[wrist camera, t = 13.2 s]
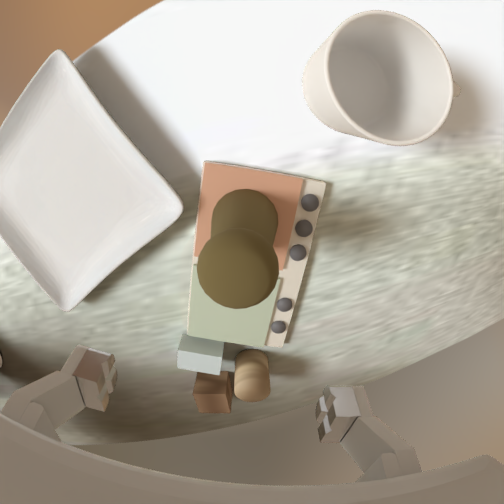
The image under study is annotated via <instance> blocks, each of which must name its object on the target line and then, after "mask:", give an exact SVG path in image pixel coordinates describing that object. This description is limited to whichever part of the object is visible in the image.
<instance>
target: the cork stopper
mask: <svg viewBox="0 0 504 504" xmlns="http://www.w3.org/2000/svg"><path fill="white" fill-rule="evenodd" d="M234 393H235V395H236V396H237V397H238V398H239V399H241V400H243V401H247V402H257V401H261V400H263V399H265V398H267V397H268V396H269V394H270V379H269V366H268V357H267V356H266V354H265V353H263V352H262V351H260V350H256V349H248V350H244V351H242V352H240V353H239V354H238V355H237V356H236V359H235V382H234Z"/></svg>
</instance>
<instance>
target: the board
mask: <svg viewBox="0 0 504 504" xmlns="http://www.w3.org/2000/svg"><path fill="white" fill-rule="evenodd" d="M325 187H326V183H325V182H324V181H319V180H314V179H309V178H304V177H299V176H294V175H289V174H284V173H278V172H273V171H267V170H261V169H256V168H250V167H243V166H237V165H231V164H224V163H217V162H210V161H204V162H203V169H202V177H201V184H200V193H199V201H198V209H197V218H196V228H195V237H194V247H193V258H192V269H191V281H190V293H189V307H188V322H187V333H188V336H193V337H199V338H205V339H210V340H216V341H223V342H229V343H235V344H242V345H249V346H256V347H264V345H266V346H274V347H283V344H284V340H285V337H286V334H287V330H288V327H289V324H290V320H291V317H292V313H293V310H294V306H295V303H296V299H297V296H298V292H299V289H300V285H301V282H302V278H303V274H304V271H305V267H306V263H307V259H308V256H309V252H310V248H311V244H312V240H313V236H314V232H315V228H316V224H317V220H318V216H319V212H320V208H321V204H322V200H323V196H324V191H325ZM238 189H250V190H255V191H258V192H260V193H262V194H263V195H265V196H267V197H268V199H269V200H270V201H271V202H272V203H273V204H274V206H275V209H276V211H277V213H278V227H277V231H276V235H275V240H274V244H273V248H274V250H275V253H276V255H277V257H278V262H279V276H278V280H277V283H276V286H275V288H274V290H273V291H272V292H271V294H270V295H269V296H268V298H266V299H265V300H263V301H262V302H261V303H259V304H257V305H255V306H252V307H249V308H244V309H233V308H228V307H224V306H222V305H220V304H218V303H216V302H214V301H213V300H212V299H211V298H210V297H209V296H208V295H207V294H206V293H205V292H204V290H203V289H202V287H201V285H200V284H199V279H198V274H197V262H198V256H199V254H200V252H201V250H202V249H203V247H204V245H205V243H206V242H207V241H208V240H210V239H211V219H212V214H213V209H214V207H215V206H216V204H217V202H218V201H219V200H220V199H221V198H222V197H223V196H224V195H225V194H227V193H229V192H232V191H234V190H238Z"/></svg>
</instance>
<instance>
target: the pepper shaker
mask: <svg viewBox="0 0 504 504" xmlns="http://www.w3.org/2000/svg"><path fill="white" fill-rule="evenodd" d="M277 227H278V213H277V211H276V209H275V206H274V204H273V203H272V202H271V201H270V200H269V199H268V197H267V196H265V195H263V194H262V193H260V192H258V191H255V190H250V189H238V190H234V191H232V192H229V193H227V194H225V195H224V196H223V197H222V198H221V199H220V200H219V201H218V202H217V204H216V206H215V207H214V209H213V214H212V219H211V239H210V240H208V241H207V242H206V243H205V245H204V247H203V249H202V250H201V252H200V254H199V256H198V262H197V274H198V279H199V284H200V285H201V287H202V289H203V290H204V292H205V293H206V294H207V295H208V296H209V297H210V298H211V299H212V300H213V301H214V302H216V303H218V304H220V305H222V306H224V307H228V308H233V309H244V308H249V307H252V306H255V305H257V304H259V303H261V302H262V301H263V300H265V299H266V298H268V296H269V295H270V294H271V292H272V291H273V290H274V288H275V286H276V283H277V280H278V276H279V262H278V257H277V255H276V253H275V250H274V248H273V244H274V240H275V235H276V231H277Z"/></svg>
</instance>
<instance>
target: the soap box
mask: <svg viewBox="0 0 504 504" xmlns="http://www.w3.org/2000/svg"><path fill="white" fill-rule="evenodd" d="M223 349H224V342H223V341H216V340H210V339H205V338H199V337H193V336H188V335H185V334H183V335H182V338H181V341H180V344H179V347H178V356H177V368H181V369H186V370H191V371H197V372H202V373H208V374H214V375H220V369H221V362H222V355H223Z"/></svg>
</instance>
